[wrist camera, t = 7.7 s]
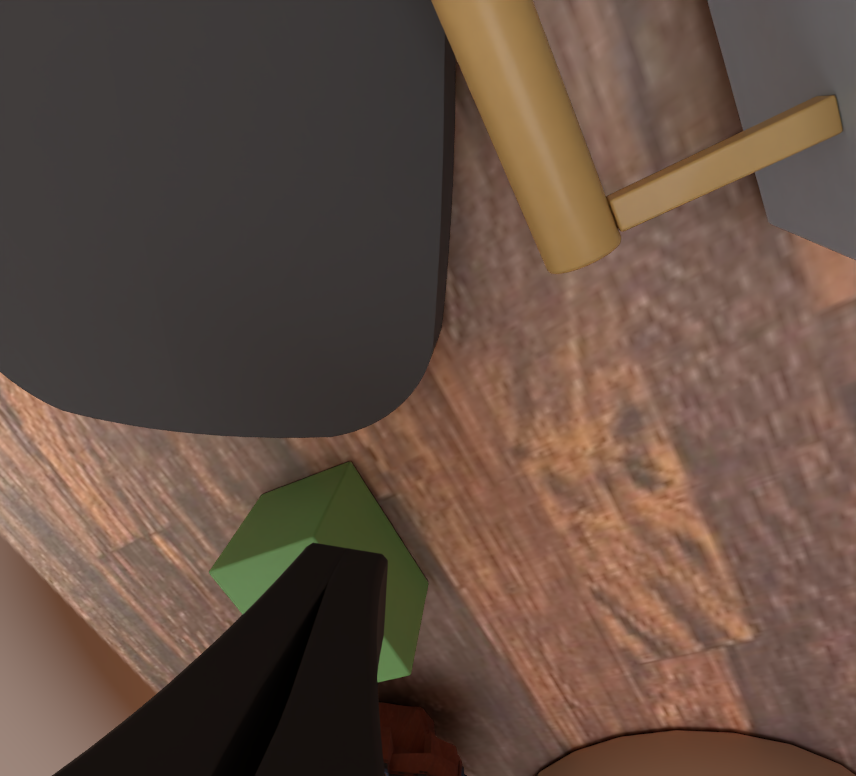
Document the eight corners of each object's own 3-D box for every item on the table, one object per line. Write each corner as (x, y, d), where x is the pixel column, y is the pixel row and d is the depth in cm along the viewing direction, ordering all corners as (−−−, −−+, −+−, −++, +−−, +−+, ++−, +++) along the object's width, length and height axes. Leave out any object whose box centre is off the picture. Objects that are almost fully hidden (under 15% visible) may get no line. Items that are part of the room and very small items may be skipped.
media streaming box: (470, -209, 12) (455, -307, 9) (444, 412, 18) (432, 463, 15) (-140, -181, 13) (-306, -256, 11) (35, 375, 20) (-41, 415, 17)
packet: (429, 582, 21) (411, 676, 18) (342, 607, 23) (310, 698, 19) (351, 459, 19) (313, 536, 16) (260, 494, 21) (206, 572, 17)
